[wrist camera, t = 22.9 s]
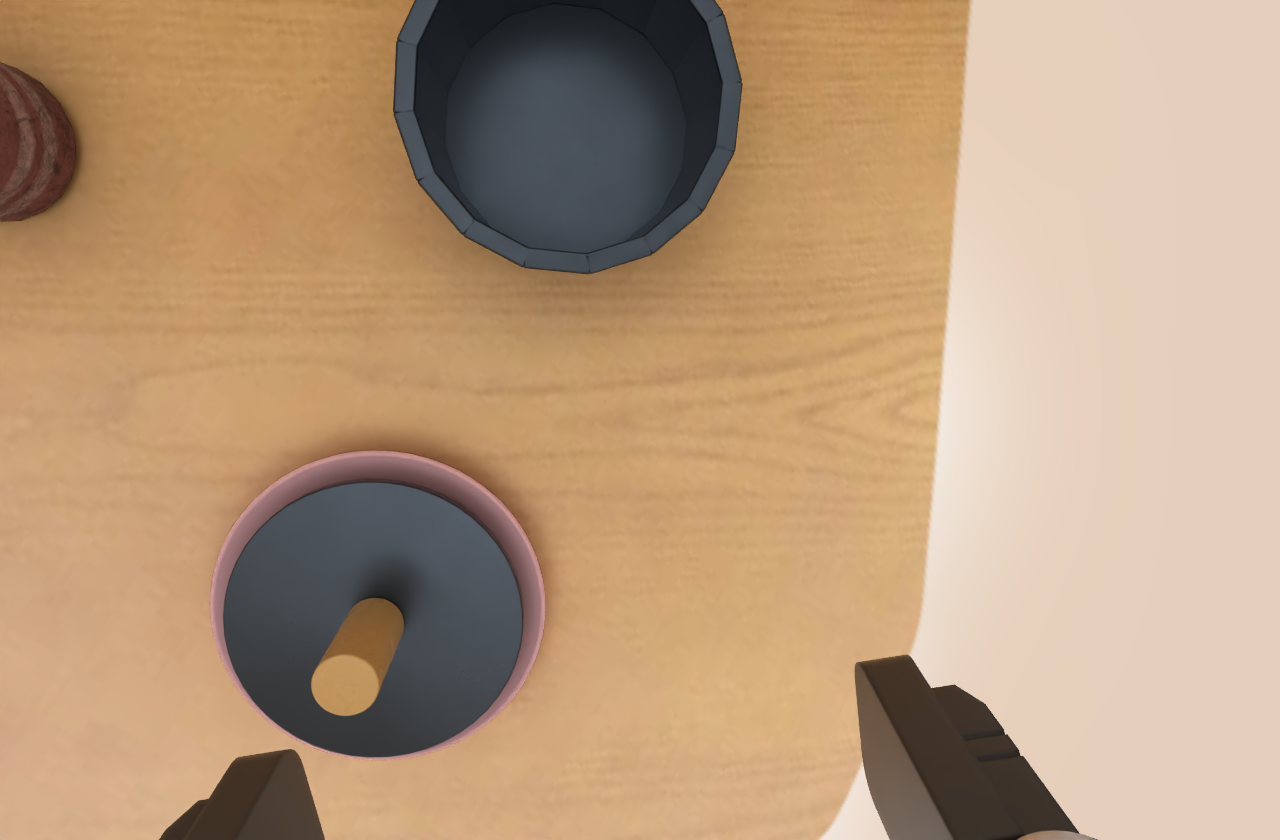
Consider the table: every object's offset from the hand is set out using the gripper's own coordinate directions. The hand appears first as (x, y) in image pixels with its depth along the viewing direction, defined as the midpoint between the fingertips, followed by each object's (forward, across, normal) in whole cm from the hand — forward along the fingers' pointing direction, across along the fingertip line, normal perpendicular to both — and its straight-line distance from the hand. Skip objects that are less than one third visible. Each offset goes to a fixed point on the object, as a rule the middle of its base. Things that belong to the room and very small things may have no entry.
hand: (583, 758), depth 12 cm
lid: (+24, +11, +9) cm, 27 cm away
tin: (+28, 0, -10) cm, 30 cm away
